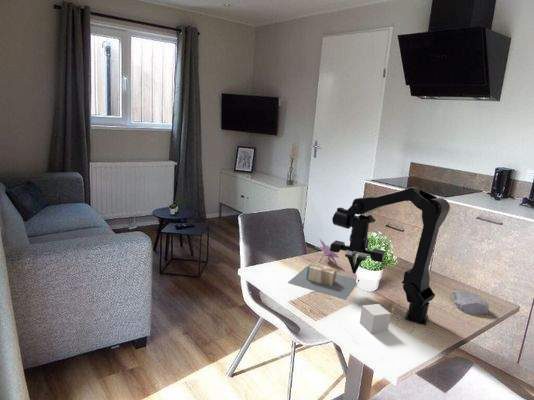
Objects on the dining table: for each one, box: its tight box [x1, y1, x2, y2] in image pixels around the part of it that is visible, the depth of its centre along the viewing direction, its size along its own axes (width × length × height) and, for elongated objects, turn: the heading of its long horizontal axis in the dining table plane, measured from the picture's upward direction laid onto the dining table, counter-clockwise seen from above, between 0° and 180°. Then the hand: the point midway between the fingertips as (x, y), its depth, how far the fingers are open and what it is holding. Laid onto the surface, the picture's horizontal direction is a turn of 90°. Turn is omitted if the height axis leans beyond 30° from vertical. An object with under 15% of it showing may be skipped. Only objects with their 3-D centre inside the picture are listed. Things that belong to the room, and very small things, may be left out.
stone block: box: [450, 290, 490, 315], centre depth 138 cm, size 12×5×10 cm
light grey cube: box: [359, 303, 391, 334], centre depth 118 cm, size 6×6×6 cm
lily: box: [318, 238, 340, 264], centre depth 167 cm, size 12×12×10 cm
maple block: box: [306, 262, 338, 286], centre depth 147 cm, size 5×5×10 cm
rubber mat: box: [287, 265, 358, 300], centre depth 147 cm, size 20×22×1 cm
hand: (354, 273), depth 141 cm, fingers closed
